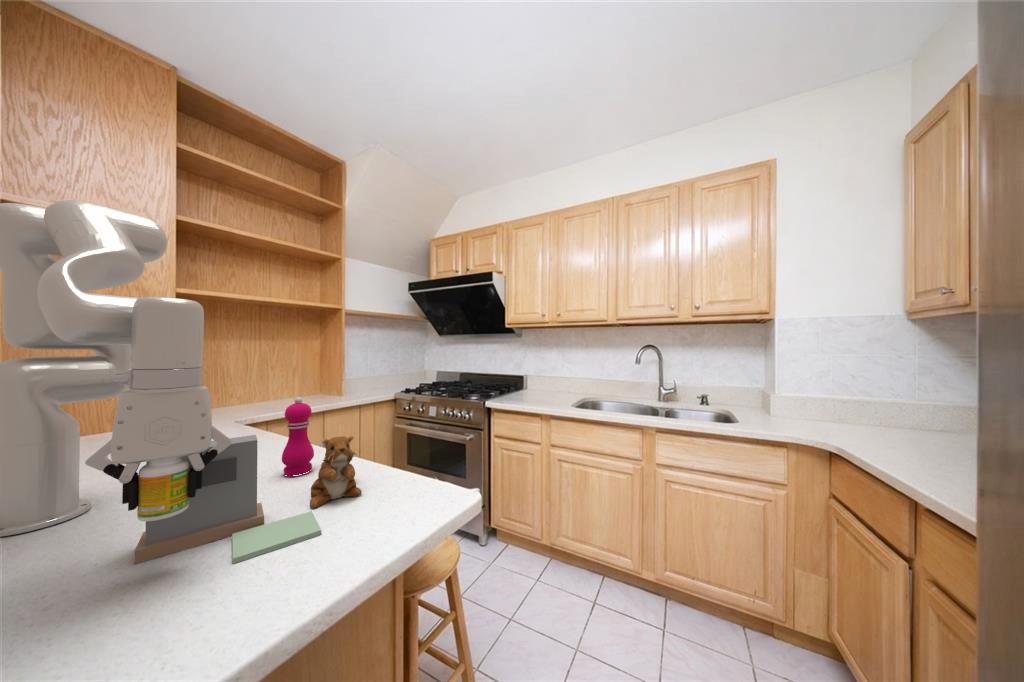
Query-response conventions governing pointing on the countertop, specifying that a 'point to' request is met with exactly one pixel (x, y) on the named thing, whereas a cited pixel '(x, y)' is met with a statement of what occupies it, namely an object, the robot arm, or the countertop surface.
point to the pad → (273, 536)
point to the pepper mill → (297, 440)
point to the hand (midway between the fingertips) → (164, 499)
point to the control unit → (211, 504)
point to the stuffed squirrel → (335, 472)
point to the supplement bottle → (163, 488)
